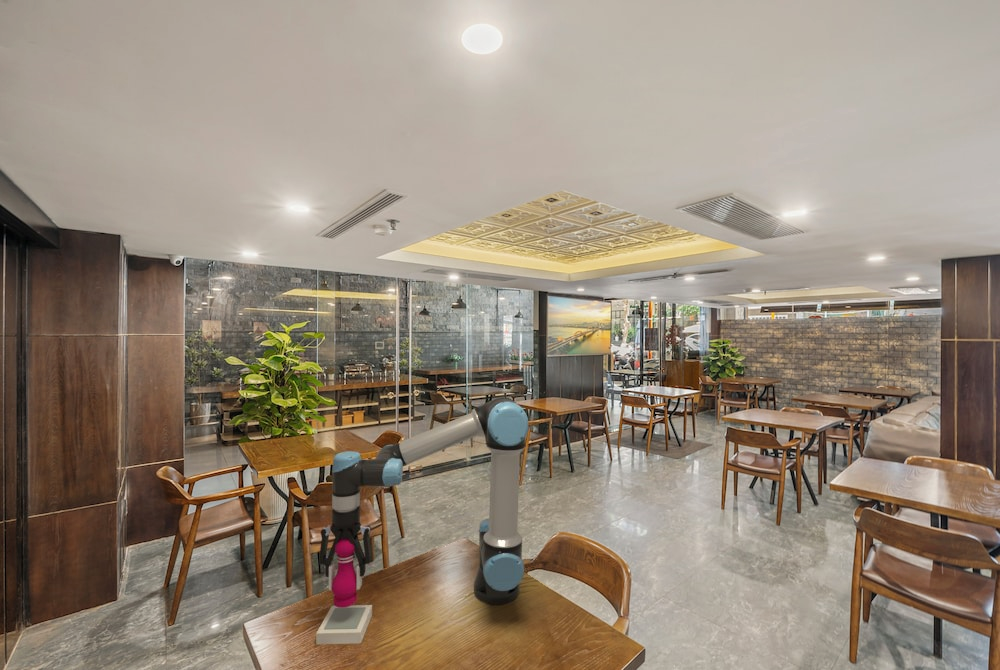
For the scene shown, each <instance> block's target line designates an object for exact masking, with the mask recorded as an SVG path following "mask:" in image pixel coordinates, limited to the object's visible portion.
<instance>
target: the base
mask: <svg viewBox="0 0 1000 670" xmlns="http://www.w3.org/2000/svg"><path fill="white" fill-rule="evenodd" d="M372 617H373V605H372V604H360V605H359V604H356V605H354V604H352V605H351V606H348V607H344V608H340V607H336V606H335V605H331V607H330V608H329V610H328V612H327V614H326V616H325V617H324V619H323V621H322V622H321V624H320V626H319V628H318V630H317V631H316V635H315V636H316V637H315V645H349V644H351V645H352V644H355V645H356V644H361V643H362V641H363V639H364V636H365V633H366V631H367V629H368V627H369V624H370V622H371V619H372Z"/></svg>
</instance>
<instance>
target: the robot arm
mask: <svg viewBox="0 0 1000 670" xmlns="http://www.w3.org/2000/svg"><path fill="white" fill-rule="evenodd" d="M529 427H530V425H529V418H528V415H527V412H526V411H525V410H524V409H523V407H522V406H520V405H519V404H518V403H517V402H516V401H515V400H513V399H512V398H509V397H506V396H504V397H503V396H502V397H496V398H493V399H492V400H490V401H488V402H486V403H483V404H481V405H479V406H476V407H474V408H472V411H471V412H470V413H468V414H465V415H462V416H461V417H458V418H456V419H453V420H451V421H449V422H446V423H443V424H441V425H438V426H436V427H433V428H431V429H429V430H426V431H424V432H421V433H419V434H416V435H414V436H412V437H409V438H407V439H405V440H402V441H400V442H397V443H395V444H387V445H385V446H383V447H382V448H381V449H380V450H379V451H378V452H377V455H376V456H375V458H373V459H363V458H362V457H361V453H360V452H357V451H353V450H352V451H349V450H348V451H342V452H339V453H337V454H335V455H334V456H333V459H332V470H331V473H332V477H331V478H332V479H331V480H332V494H331V496H332V497H331V499H332V500H331V505H332V506H331V508H332V510H331V525H330V526H327V525H325V526H323V528H322V529H321V530H320V536H321V541H320V542H321V543H320V549H319V557H318V565H324V567H325V571H324V572H325V577H326V578H328V591H332V585H333V581H334V579H335V576H336V574H335V573H336V565H335V564H336V563H335V561H334V557H335V554H336V552H335V545H336V544H337V543H338V541H339V540H342V539H348V540H349V541H350V543H351V544H354V552H355V557H356V559H357V563H358V564H357V565H356V574H357V590H358V591H359V590H361V587H362V585H363V577H364V576H365V574H366V564H367V565H369V564H370V563H371V561H372V559H373V554H372V553H373V552H372V546H371V545H372V543H371V535H370V532H371V530H372V527H371V526H370V525H367V526H364V525H362V523H361V516H360V515H361V507H360V504H361V487H363V488H364V487H393V486H399V485H400V484H401V483H402V480H403V475H404V474H403V473H404V472H403V470H404V467H405V466H407V465H410V464H412V463H415V462H418V461H419V460H422V459H425V458H427V457H429V456H432V455H434V454H436V453H438V452H441V451H443V450H446V449H449V448H451V447H453V446H455V445H459V444H461V443H463V442H466V441H468V440H470V439H472V438H474V437H478V436H483V437H485V436H486V448H487V449H488V450H489V451H490V455H491V456H490V481H489V482H490V483H489V485H490V486H489V511H488V512H489V513H488V518H486V519H484V520H482V521H481V522H480V523H479V526H478V527H479V528H478V529H479V530H478V532H479V533H478V534H479V536H478V537H479V538H478V539H479V540H478V541H479V542H478V544H479V545H478V547H479V548H478V549H479V550H478V551H479V552H478V556H479V557H478V558H479V559H478V561H479V562H478V564H479V565H478V570H477V573H476V575H475V579H474V582H473V594H474V596H475V597H476V599H478V600H479V601H480V602H483V603H485V604H488V605H489V604H490V605H504V604H508V603H511V602H513V601H514V600H516V599H517V597H518V596H519V595H520V583H521V582H522V580H523V578H524V576H525V565H524V564H525V563H524V562H523V558H522V557H523V553H522V552H523V537H522V535H521V534H520V532H518V521H519V489H520V464H521V462H520V460H521V459H520V458H521V455H520V454H521V452H522V451H524V450H525V448H526V437H527V435H528V432H529ZM359 532H361V535H362V540H363V541H362V542H363V547H362V545H361V542H360V539H359V535H358V534H359ZM331 533H332V535H333V536H334V537H335V538H334V540H333V542H332V545H331V547H330V549H329V553H328V555H327V552H328V546H329V538H330V534H331ZM362 548H363V549H362ZM333 561H334V562H333ZM357 590H356V591H357Z"/></svg>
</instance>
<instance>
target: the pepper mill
mask: <svg viewBox="0 0 1000 670" xmlns="http://www.w3.org/2000/svg"><path fill="white" fill-rule="evenodd" d="M335 554H336V562H337V571H336V574H335V579H334V581H333V585H332V590H331V592H332V594H333V606H336V607H340V608H344V607H348V606H351V605H354V604H355V603H356V602H357V600H358V592H357V571H356V570H355V567H354V560H355V557H356V554H355V552H354V544H351V543H350V541H349V540H348V539H342V540H339V541H338V543H337V544H336V545H335Z"/></svg>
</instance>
